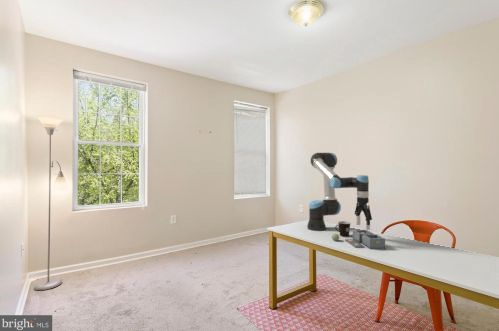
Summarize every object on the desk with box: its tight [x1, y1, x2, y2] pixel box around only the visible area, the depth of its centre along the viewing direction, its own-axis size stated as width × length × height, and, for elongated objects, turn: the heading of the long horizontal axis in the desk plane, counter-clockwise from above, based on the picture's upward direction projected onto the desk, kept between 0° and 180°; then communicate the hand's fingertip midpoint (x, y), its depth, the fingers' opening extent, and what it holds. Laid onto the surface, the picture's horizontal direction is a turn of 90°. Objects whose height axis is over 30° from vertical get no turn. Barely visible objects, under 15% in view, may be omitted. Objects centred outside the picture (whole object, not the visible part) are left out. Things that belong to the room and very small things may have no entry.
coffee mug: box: [335, 220, 351, 238], centre depth 192 cm, size 12×9×10 cm
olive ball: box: [331, 233, 340, 241], centre depth 180 cm, size 5×5×5 cm
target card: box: [344, 238, 366, 249], centre depth 172 cm, size 16×6×1 cm, turn 3°
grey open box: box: [361, 233, 386, 250], centre depth 167 cm, size 10×10×6 cm
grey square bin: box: [352, 229, 375, 244], centre depth 179 cm, size 10×10×6 cm
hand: (362, 227), depth 179 cm, fingers open, 13 cm apart
